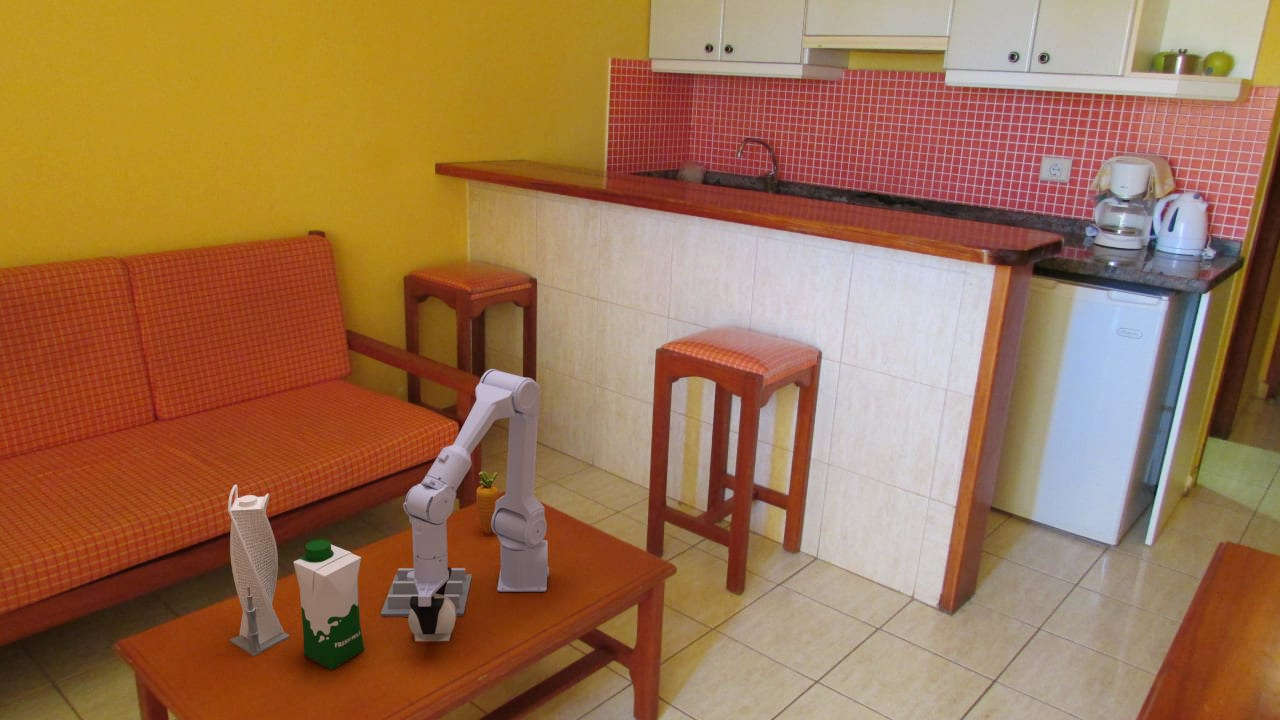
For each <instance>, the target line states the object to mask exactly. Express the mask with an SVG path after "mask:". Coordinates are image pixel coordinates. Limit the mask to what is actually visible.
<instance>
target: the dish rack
mask: <svg viewBox="0 0 1280 720" xmlns="http://www.w3.org/2000/svg"><path fill="white" fill-rule="evenodd" d="M450 568H451V569H452V572H451V576H450V578H449V580H448V582H447V584H446V588H445V594H444V596H446V597H447V598H449V599H450V600H451V601H452V602H453V604H454V605H455V608H456V617H464V615H465V610H466V605H467V601H468V596H469V592H470V587H471V585H472V584H471V582H472V579H473V575H472V573H471V574H470V573H468V574H467V573H466V568H465V567H450ZM410 571H414V567H413V568H411V567H410V568H405V567H403V568H402V567H401V568H399V567H398V568H397V574H395V575H394V578H393V580H392V583H391V585H390V588H389V591H388V594H387V596H386V598H385V601H384V604H383V606H382V609H381V612H380V617H381V618H386V617H387V618H388V617H389V618H390V617H391V618H392V617H396V618H397V617H398V618H399V617H401V618H402V617H404V618H406V617H408V618H409V614H410V611H411V607H410V599H411V596H418V592H417V589H416V587H415V584H414V581H411V580H407V575H408V572H410Z"/></svg>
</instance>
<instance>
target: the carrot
mask: <svg viewBox="0 0 1280 720" xmlns="http://www.w3.org/2000/svg"><path fill="white" fill-rule="evenodd" d="M498 475H499V473H498V472H494V473H493V474H492V477H491V478H490V476H489V474H488V473H487V471H486V472H485V471H480V472H479V473H478V476H479V478H480V481H479V484H480V486H478V487H477V489H476V494H475V495H476V509H477V513H478V518H479V522H480V524H481V527H482V529H483V531H484V533H485V534H486V535H490V534H491V533H492V532H493V530H492V527H491V520H492V516H493V514H494V511H495V504H496V501H497V500H498V499H499V498H500V492H499V489H498V487H497V486H496V485H494V482H495V480H496V478H497V476H498Z"/></svg>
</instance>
